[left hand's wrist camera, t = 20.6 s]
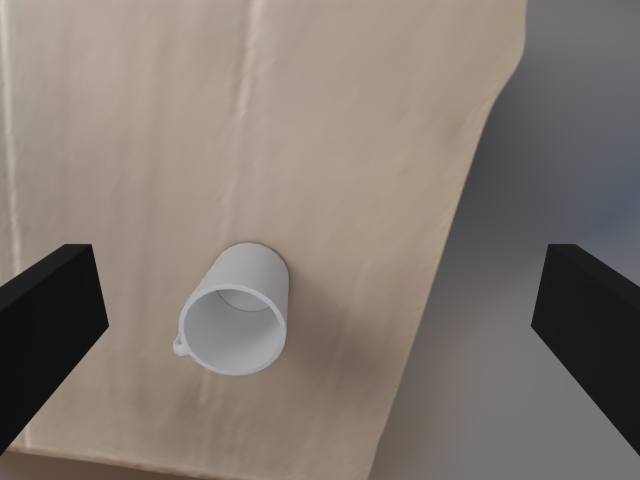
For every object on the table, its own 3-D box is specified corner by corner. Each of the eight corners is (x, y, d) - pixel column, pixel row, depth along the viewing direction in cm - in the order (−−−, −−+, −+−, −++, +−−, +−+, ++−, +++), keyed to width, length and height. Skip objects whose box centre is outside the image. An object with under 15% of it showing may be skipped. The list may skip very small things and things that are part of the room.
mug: (266, 222, 42) (250, 265, 33) (308, 292, 45) (305, 350, 36) (175, 268, 44) (135, 322, 35) (221, 332, 47) (196, 398, 37)
